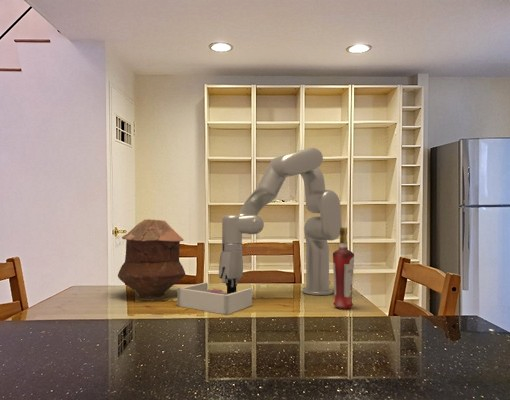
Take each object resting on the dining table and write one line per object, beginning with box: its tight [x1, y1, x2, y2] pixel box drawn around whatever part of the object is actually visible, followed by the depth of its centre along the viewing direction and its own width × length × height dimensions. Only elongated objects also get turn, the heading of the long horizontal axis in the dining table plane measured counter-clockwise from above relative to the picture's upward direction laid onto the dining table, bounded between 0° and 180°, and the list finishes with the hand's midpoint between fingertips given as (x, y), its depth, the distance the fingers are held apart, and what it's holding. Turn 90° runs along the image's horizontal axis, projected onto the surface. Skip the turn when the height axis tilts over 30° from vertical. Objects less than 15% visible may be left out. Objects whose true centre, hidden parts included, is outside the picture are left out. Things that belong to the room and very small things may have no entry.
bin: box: [176, 282, 253, 316], centre depth 138 cm, size 15×21×6 cm
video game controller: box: [206, 288, 227, 295], centre depth 138 cm, size 10×5×7 cm, turn 59°
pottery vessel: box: [117, 219, 186, 298], centre depth 156 cm, size 26×26×30 cm
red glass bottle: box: [332, 226, 355, 310], centre depth 137 cm, size 7×7×28 cm
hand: (231, 296), depth 146 cm, fingers closed
